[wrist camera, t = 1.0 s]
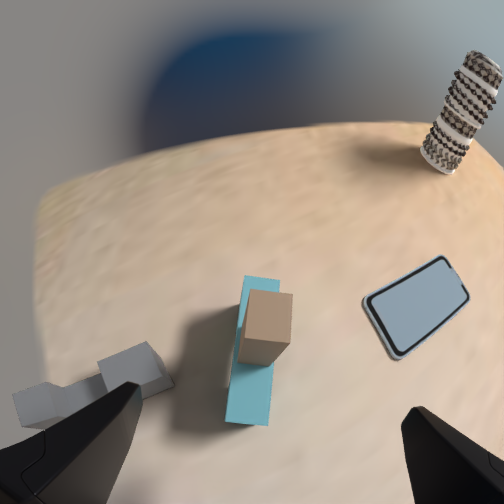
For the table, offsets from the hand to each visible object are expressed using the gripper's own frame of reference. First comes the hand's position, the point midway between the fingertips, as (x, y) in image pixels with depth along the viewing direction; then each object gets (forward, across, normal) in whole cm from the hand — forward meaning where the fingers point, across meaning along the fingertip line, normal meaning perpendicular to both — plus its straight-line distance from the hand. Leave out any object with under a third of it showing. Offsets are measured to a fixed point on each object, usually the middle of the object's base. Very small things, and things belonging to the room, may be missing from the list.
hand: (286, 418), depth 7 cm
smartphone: (+18, -18, +3) cm, 26 cm away
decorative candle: (+42, -32, -18) cm, 56 cm away
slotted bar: (+8, +11, +11) cm, 18 cm away
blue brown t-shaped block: (+12, 0, +7) cm, 14 cm away
